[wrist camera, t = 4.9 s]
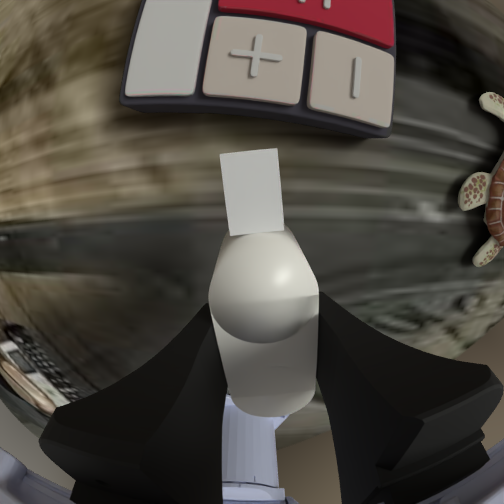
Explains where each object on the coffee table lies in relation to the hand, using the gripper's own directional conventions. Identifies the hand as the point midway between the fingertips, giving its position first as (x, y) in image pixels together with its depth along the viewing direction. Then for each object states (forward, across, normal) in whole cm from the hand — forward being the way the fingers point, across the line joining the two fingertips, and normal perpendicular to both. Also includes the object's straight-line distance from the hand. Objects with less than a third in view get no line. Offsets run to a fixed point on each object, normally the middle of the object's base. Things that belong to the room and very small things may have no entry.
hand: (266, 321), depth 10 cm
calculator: (+9, -2, -13) cm, 16 cm away
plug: (+2, 0, -1) cm, 2 cm away
